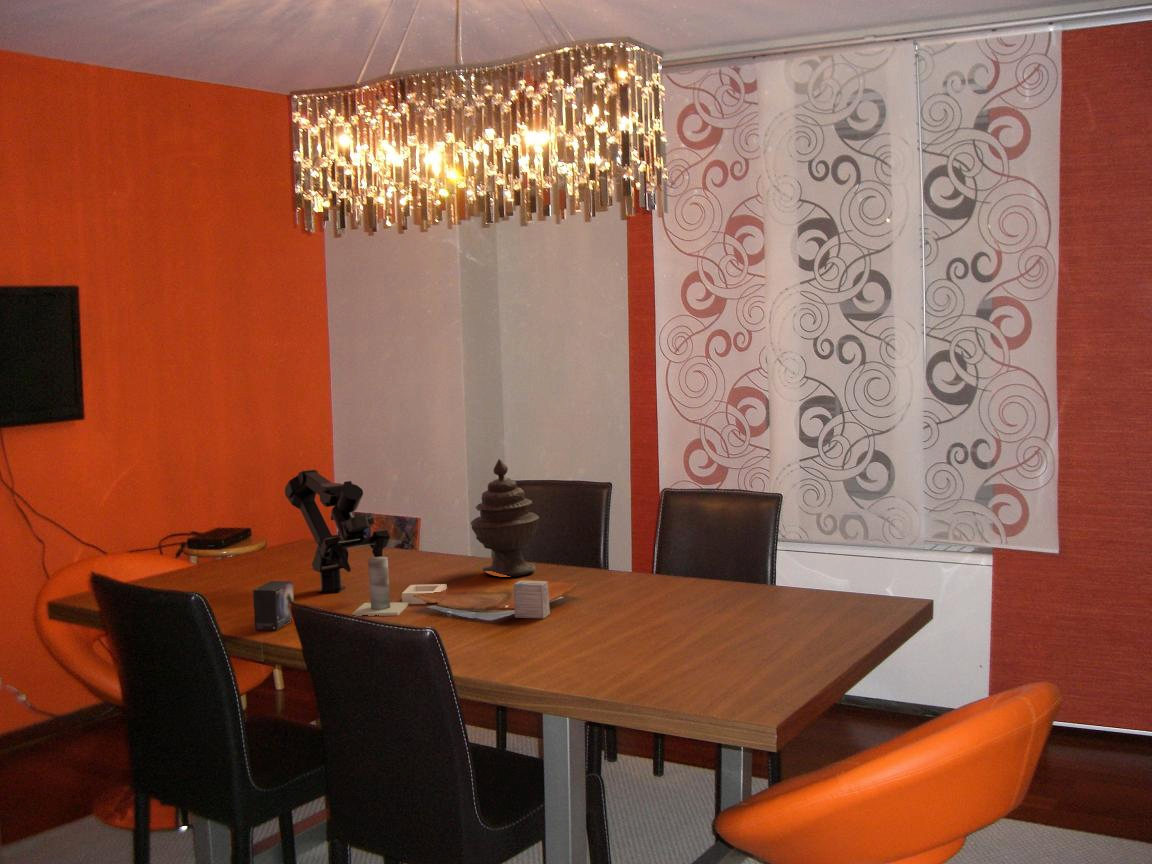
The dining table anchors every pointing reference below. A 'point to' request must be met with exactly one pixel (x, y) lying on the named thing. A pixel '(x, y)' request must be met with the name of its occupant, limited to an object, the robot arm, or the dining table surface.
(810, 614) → the dining table surface
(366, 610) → the pad
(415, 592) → the pocket block
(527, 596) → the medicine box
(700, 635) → the dining table surface
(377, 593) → the peg
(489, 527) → the decorative urn
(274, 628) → the small box
